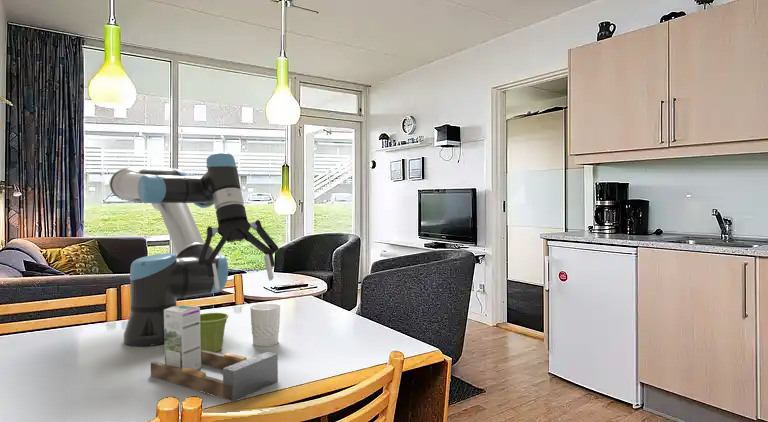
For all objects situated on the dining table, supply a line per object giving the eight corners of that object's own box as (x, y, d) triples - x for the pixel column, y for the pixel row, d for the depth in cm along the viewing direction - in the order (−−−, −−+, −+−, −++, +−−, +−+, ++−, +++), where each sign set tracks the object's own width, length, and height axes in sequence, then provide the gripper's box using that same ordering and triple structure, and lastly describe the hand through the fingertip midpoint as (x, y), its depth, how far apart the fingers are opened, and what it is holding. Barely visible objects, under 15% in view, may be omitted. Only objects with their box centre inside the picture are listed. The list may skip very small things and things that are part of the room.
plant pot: (206, 358, 118) (205, 323, 118) (182, 351, 123) (181, 318, 123) (236, 348, 126) (236, 315, 126) (212, 342, 131) (212, 311, 131)
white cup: (272, 348, 126) (272, 310, 126) (245, 346, 128) (245, 309, 127) (285, 339, 134) (284, 303, 133) (258, 338, 135) (258, 302, 135)
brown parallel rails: (150, 376, 106) (150, 360, 106) (197, 360, 116) (197, 345, 116) (231, 401, 93) (231, 383, 93) (276, 380, 103) (276, 364, 103)
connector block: (223, 398, 94) (223, 368, 94) (267, 378, 104) (267, 351, 104) (233, 401, 92) (233, 371, 92) (277, 381, 103) (277, 353, 103)
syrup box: (202, 368, 111) (201, 305, 111) (181, 376, 106) (181, 311, 105) (184, 364, 114) (183, 303, 113) (163, 372, 108) (162, 308, 108)
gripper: (180, 208, 120) (194, 291, 114) (278, 197, 131) (295, 271, 126) (179, 218, 126) (192, 297, 121) (273, 207, 138) (289, 278, 132)
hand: (245, 284), depth 123 cm, fingers open, 13 cm apart
